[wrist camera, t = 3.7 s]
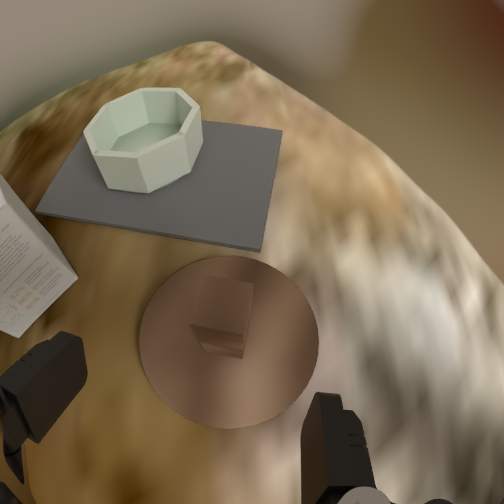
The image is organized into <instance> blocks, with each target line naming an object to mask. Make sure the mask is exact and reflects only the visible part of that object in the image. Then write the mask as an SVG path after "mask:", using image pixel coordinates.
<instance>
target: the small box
mask: <svg viewBox="0 0 504 504" xmlns="http://www.w3.org/2000/svg"><path fill="white" fill-rule="evenodd" d="M77 279H78V276H77V275H76V273H75V272H74V270H73V269H72V267H71V266H70V264H69V263H68V261H67V260H66V258H65V256H64V255H63V253H62V252H61V250H60V248H59V247H58V245H57V244H56V242H55V240H54V239H53V237H52V236H51V235H50V234H49V233H48V232H47V231H46V229H45V228H44V227H43V226H42V225H41V224H40V222H39V221H38V220H37V219H36V218H35V217H34V216H33V214H32V213H31V212H30V211H29V210H28V208H27V207H26V206H25V205H24V203H23V202H22V201H21V200H20V199H19V197H18V196H17V195H16V194H15V192H14V191H13V190H12V188H11V187H10V186H9V184H8V183H7V182H6V180H5V179H4V178H3V176H2V175H1V174H0V330H1V331H3V332H6V333H8V334H10V335H12V336H14V337H16V338H20V336H21V335H22V334H23V333H24V332H25V331H26V330H27V329H28V328H29V327H30V326H31V325H32V324H33V323H34V321H35V320H36V319H37V318H38V317H39V316H40V315H41V314H42V313H43V312H44V311H45V310H46V309H47V308H48V307H49V306H50V305H51V304H52V303H53V302H54V301H55V300H56V299H57V298H58V297H59V296H60V295H61V294H62V293H63V292H64V291H66V290H67V289H68V288H69V287H70V286H71V285H72V284H73V283H74V282H75V281H76V280H77Z"/></svg>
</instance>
